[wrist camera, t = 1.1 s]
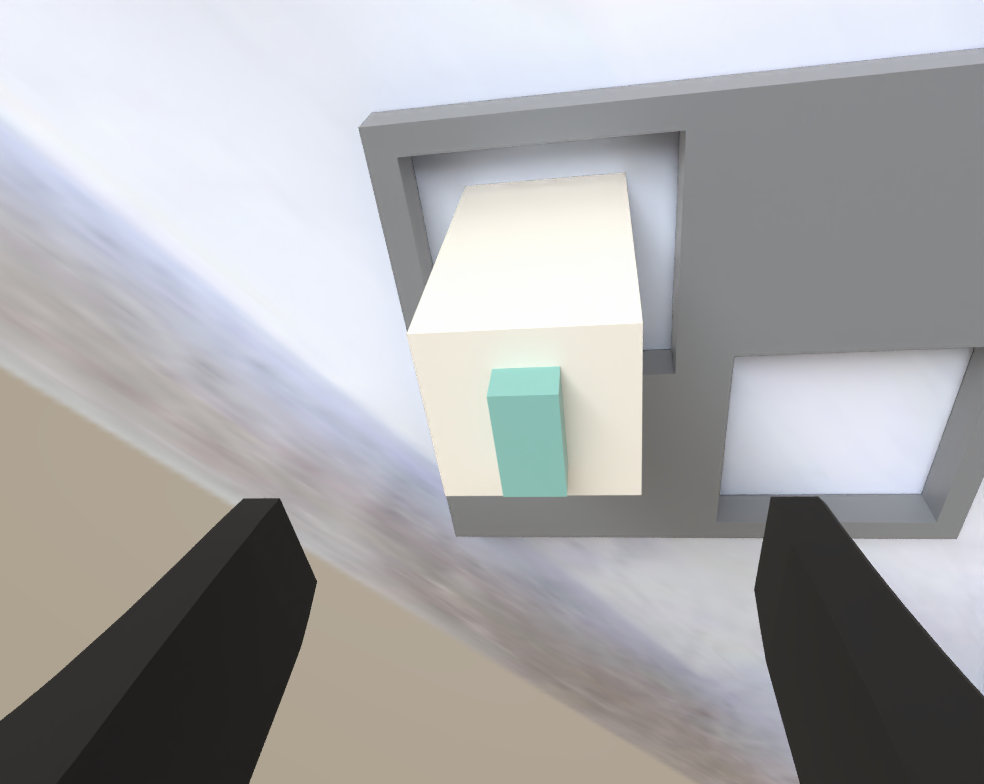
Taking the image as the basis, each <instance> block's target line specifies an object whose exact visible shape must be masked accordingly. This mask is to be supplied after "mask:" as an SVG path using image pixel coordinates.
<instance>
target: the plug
mask: <svg viewBox="0 0 984 784" xmlns="http://www.w3.org/2000/svg"><path fill="white" fill-rule="evenodd" d="M407 338H408V342H409V346H410V351H411V355H412V359H413V363H414V367H415V371H416V376H417V380H418V384H419V388H420V392H421V396H422V401H423V405H424V409H425V413H426V417H427V421H428V426H429V430H430V434H431V438H432V442H433V446H434V451H435V455H436V459H437V463H438V467H439V471H440V476H441V480H442V484H443V488H444V492H445V496H503V497H567V495H641V489H642V372H643V320H642V311H641V302H640V294H639V285H638V277H637V268H636V260H635V251H634V243H633V234H632V225H631V217H630V208H629V200H628V191H627V183H626V174H625V172H623V173H612V174H600V175H588V176H576V177H564V178H552V179H541V180H529V181H517V182H505V183H494V184H482V185H470V186H465V189H464V191H463V194H462V196H461V199H460V201H459V204H458V206H457V209H456V211H455V214H454V216H453V219H452V221H451V224H450V226H449V229H448V231H447V234H446V236H445V239H444V241H443V244H442V246H441V249H440V251H439V254H438V256H437V259H436V262H435V264H434V267H433V269H432V272H431V274H430V277H429V279H428V282H427V284H426V287H425V289H424V292H423V294H422V297H421V299H420V302H419V304H418V307H417V309H416V312H415V314H414V317H413V319H412V322H411V324H410V327H409V329H408V332H407Z"/></svg>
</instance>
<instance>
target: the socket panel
mask: <svg viewBox="0 0 984 784" xmlns="http://www.w3.org/2000/svg"><path fill="white" fill-rule="evenodd" d="M358 128H359V132H360V136H361V140H362V145H363V149H364V153H365V157H366V161H367V165H368V170H369V174H370V178H371V182H372V186H373V191H374V195H375V199H376V203H377V207H378V212H379V216H380V220H381V224H382V228H383V233H384V237H385V241H386V245H387V249H388V253H389V258H390V262H391V266H392V270H393V274H394V279H395V283H396V287H397V291H398V295H399V300H400V304H401V308H402V312H403V316H404V321H405V325H406V329H407V332H408V329H409V327H410V324H411V322H412V319H413V317H414V314H415V312H416V309H417V307H418V304H419V302H420V299H421V297H422V294H423V292H424V289H425V287H426V284H427V282H428V279H429V277H430V274H431V272H432V269H433V265H432V260H431V255H430V250H429V244H428V239H427V234H426V229H425V224H424V219H423V214H422V209H421V204H420V199H419V194H418V189H417V184H416V179H415V174H414V169H413V164H412V159H411V156H419V155H429V154H440V153H451V152H461V151H472V150H483V149H493V148H504V147H515V146H525V145H536V144H547V143H557V142H568V141H579V140H590V139H600V138H611V137H622V136H632V135H643V134H654V133H664V132H675V131H680V134H679V159H678V185H677V211H676V237H675V262H674V288H673V314H672V340H671V349H668V350H644V351H643V372H642V489H641V495H567V497H503V496H446V497H447V501H448V505H449V509H450V513H451V518H452V522H453V526H454V530H455V534H456V536H469V537H666V538H763V537H764V532H765V526H766V520H767V515H768V509H769V503H770V498H771V497H812V496H818V497H819V498H821V499H822V500H823V501H824V502H825V503H826V504H827V506H828V507H829V509H830V510H831V511H832V513H833V514H834V515H835V517H836V518H837V519H838V521H839V522H840V524H841V525H842V526H843V528H844V529H845V530H846V532H847V533H848V534H849V536H850V537H851V538H864V539H957V537H958V535H959V533H960V530H961V528H962V526H963V523H964V521H965V519H966V516H967V514H968V512H969V509H970V507H971V505H972V503H973V500H974V498H975V496H976V493H977V491H978V489H979V486H980V484H981V482H982V479H983V477H984V48H978V49H968V50H959V51H949V52H940V53H930V54H921V55H912V56H902V57H893V58H883V59H874V60H864V61H855V62H846V63H836V64H827V65H817V66H808V67H798V68H789V69H779V70H770V71H761V72H751V73H742V74H732V75H723V76H713V77H704V78H695V79H685V80H676V81H666V82H657V83H647V84H638V85H629V86H619V87H610V88H600V89H591V90H581V91H572V92H563V93H553V94H544V95H534V96H525V97H515V98H506V99H497V100H487V101H478V102H468V103H459V104H449V105H440V106H431V107H421V108H412V109H402V110H393V111H383V112H374V113H371V114H370V115H369V116H368V118H367V119H366V120H365V121H364V122H363V123H362V124H361V125H360V126H359V127H358ZM971 347H975V349H974V351H973V354H972V357H971V360H970V362H969V365H968V368H967V371H966V373H965V376H964V379H963V382H962V384H961V387H960V390H959V393H958V395H957V398H956V401H955V404H954V406H953V409H952V412H951V415H950V417H949V420H948V423H947V426H946V428H945V431H944V434H943V437H942V440H941V442H940V445H939V448H938V451H937V453H936V456H935V459H934V462H933V464H932V467H931V470H930V473H929V475H928V478H927V481H926V484H925V486H924V489H923V492H922V494H867V495H719V494H720V484H721V475H722V466H723V456H724V447H725V438H726V428H727V419H728V410H729V400H730V391H731V382H732V372H733V363H734V357H736V356H762V355H788V354H814V353H840V352H866V351H892V350H919V349H945V348H971Z"/></svg>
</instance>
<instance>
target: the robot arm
mask: <svg viewBox="0 0 984 784" xmlns="http://www.w3.org/2000/svg"><path fill="white" fill-rule="evenodd" d="M316 584H317V580H316V578H315V576H314V574H313V571H312V569H311V567H310V565H309V562H308V560H307V558H306V556H305V554H304V551H303V549H302V547H301V545H300V542H299V540H298V538H297V536H296V533H295V531H294V529H293V527H292V524H291V522H290V520H289V518H288V516H287V513H286V511H285V509H284V507H283V504H282V502H281V500H280V498H261V499H243V500H242V501H241V502H239V503H238V504H237V505H236V506H235V507H234V508H233V509H232V510H231V511H230V512H229V513H228V514H227V515H226V516H224V517H223V518H222V520H220V522H218V523H217V524H216V526H214V527H213V528H212V529H211V530H210V531H209V532H208V533H207V534H206V535H205V536H204V537H203V538H202V539H201V540H200V541H199V542H198V543H197V544H196V545H195V546H194V547H193V548H192V549H191V550H190V551H189V552H188V553H187V554H186V555H185V556H184V557H183V558H182V559H181V560H180V561H179V562H178V563H177V564H176V565H175V566H174V567H173V568H171V569H170V570H169V571H168V572H167V573H166V574H165V575H164V576H163V577H162V578H161V579H160V580H159V581H158V582H157V583H156V584H155V585H154V586H153V587H152V588H151V589H150V590H149V591H148V592H147V593H146V594H145V595H143V596H142V597H141V598H140V599H139V600H138V601H137V602H136V603H135V604H134V605H133V606H132V607H131V608H130V609H129V610H128V611H127V612H126V613H125V614H124V615H122V616H121V617H120V618H119V619H118V620H117V621H116V622H115V623H114V624H112V625H111V626H110V627H109V628H108V629H107V630H106V631H105V632H104V633H102V634H101V635H100V636H99V637H98V638H97V639H96V640H95V641H94V642H93V643H91V644H90V645H89V646H88V647H87V648H86V649H85V650H84V651H82V652H81V653H80V654H79V655H78V656H77V657H76V658H75V659H74V660H72V661H71V662H70V663H69V664H68V665H67V666H66V667H65V668H64V669H63V670H61V671H60V672H59V673H58V674H57V675H56V676H54V677H53V678H52V679H51V680H50V681H48V683H46V684H45V685H44V686H43V687H41V688H40V689H39V690H38V691H37V692H35V693H34V694H33V695H32V696H31V697H29V698H28V699H27V700H26V701H24V702H23V703H22V704H21V705H20V706H18V707H17V708H16V709H15V710H13V711H12V712H11V713H10V714H8V715H7V716H6V717H4V719H2V720H1V721H0V784H249V782H250V779H251V777H252V774H253V772H254V769H255V766H256V764H257V761H258V759H259V756H260V753H261V751H262V748H263V746H264V743H265V740H266V738H267V735H268V733H269V730H270V727H271V725H272V722H273V720H274V717H275V714H276V712H277V709H278V707H279V704H280V701H281V699H282V696H283V694H284V691H285V688H286V686H287V683H288V680H289V678H290V675H291V672H292V669H293V667H294V664H295V662H296V659H297V656H298V653H299V651H300V648H301V645H302V642H303V638H304V634H305V630H306V626H307V622H308V618H309V615H310V610H311V606H312V601H313V597H314V593H315V588H316ZM754 591H755V597H756V603H757V610H758V616H759V623H760V629H761V635H762V641H763V647H764V652H765V658H766V663H767V667H768V670H769V674H770V678H771V681H772V685H773V689H774V692H775V696H776V699H777V703H778V707H779V710H780V714H781V718H782V721H783V725H784V728H785V732H786V735H787V739H788V742H789V746H790V749H791V753H792V757H793V760H794V764H795V767H796V771H797V774H798V778H799V781H800V784H984V696H983V695H982V694H981V692H980V691H979V690H978V689H977V688H976V687H975V686H974V685H973V684H972V683H971V682H970V681H969V679H968V678H967V677H966V676H965V675H964V674H963V673H962V672H961V670H960V669H959V668H958V667H957V666H956V665H955V664H954V663H953V661H952V660H951V659H950V658H949V657H948V656H947V655H946V654H945V652H944V651H943V650H942V649H941V648H940V647H939V645H938V644H937V643H936V642H935V641H934V640H933V638H932V637H931V636H930V635H929V634H928V632H927V631H926V630H925V629H924V628H923V627H922V625H921V624H920V623H919V622H918V621H917V620H916V618H915V617H914V616H913V615H912V614H911V613H910V611H909V610H908V609H907V608H906V607H905V605H904V604H903V603H902V602H901V601H900V599H899V598H898V597H897V596H896V594H895V593H894V592H893V591H892V590H891V588H890V587H889V586H888V585H887V583H886V582H885V581H884V579H883V578H882V577H881V576H880V574H879V573H878V572H877V571H876V569H875V568H874V567H873V566H872V564H871V563H870V562H869V560H868V559H867V558H866V557H865V555H864V554H863V553H862V551H861V550H860V549H859V547H858V546H857V545H856V544H855V542H854V541H853V540H852V538H851V537H850V536H849V534H848V533H847V532H846V530H845V529H844V528H843V526H842V525H841V524H840V522H839V521H838V519H837V518H836V517H835V515H834V514H833V513H832V511H831V510H830V509H829V507H828V506H827V504H826V503H825V502H824V501H823V500H822V499H821V498H819V497H818V496H812V497H771V498H770V503H769V509H768V515H767V520H766V526H765V532H764V537H763V543H762V549H761V555H760V560H759V566H758V572H757V577H756V583H755V589H754Z"/></svg>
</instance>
